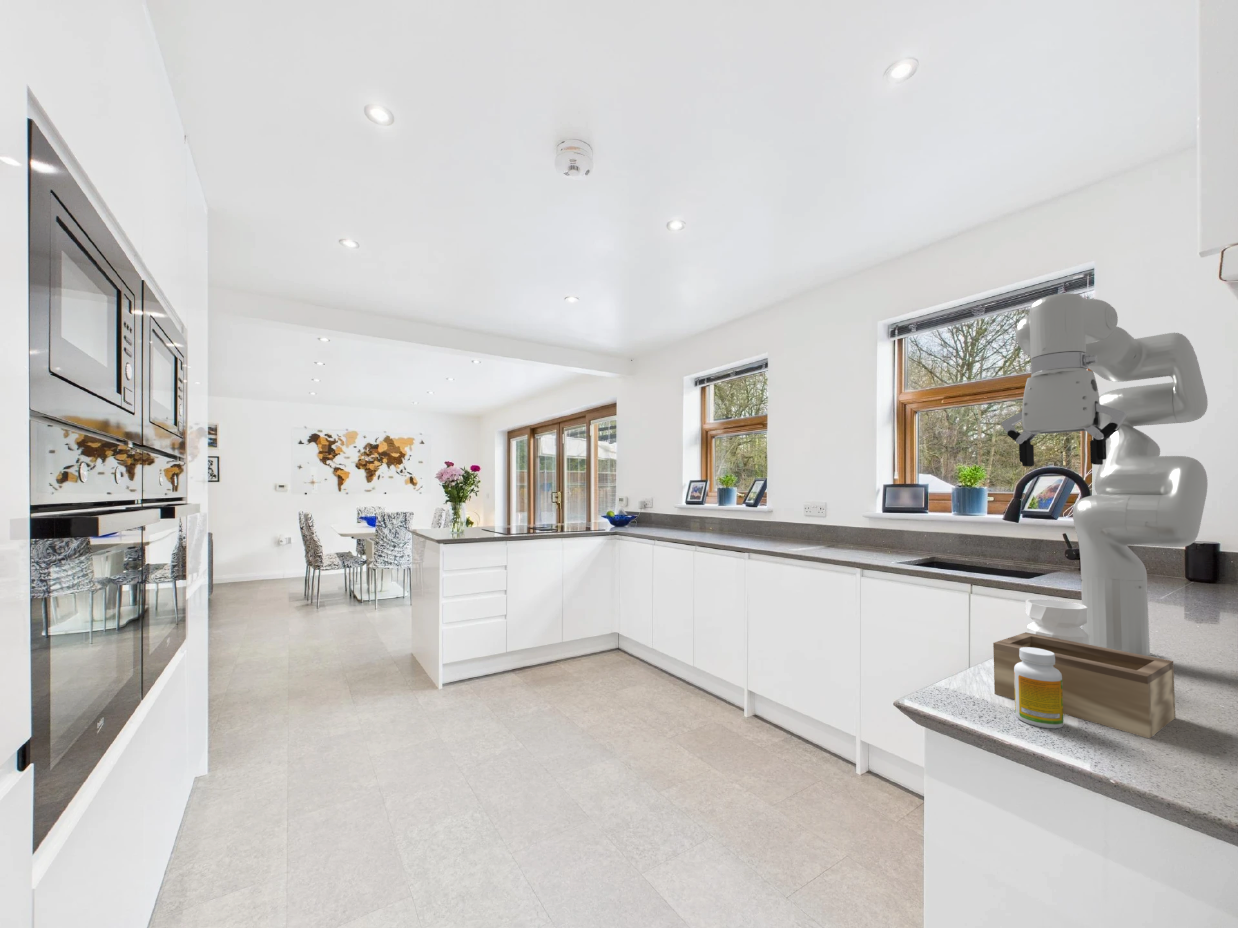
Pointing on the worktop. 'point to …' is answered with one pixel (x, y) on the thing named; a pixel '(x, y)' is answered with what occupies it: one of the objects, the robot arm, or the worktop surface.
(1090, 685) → the wooden box
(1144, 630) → the robot arm
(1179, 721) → the worktop surface
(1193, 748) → the worktop surface
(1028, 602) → the vase
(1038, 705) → the supplement bottle
